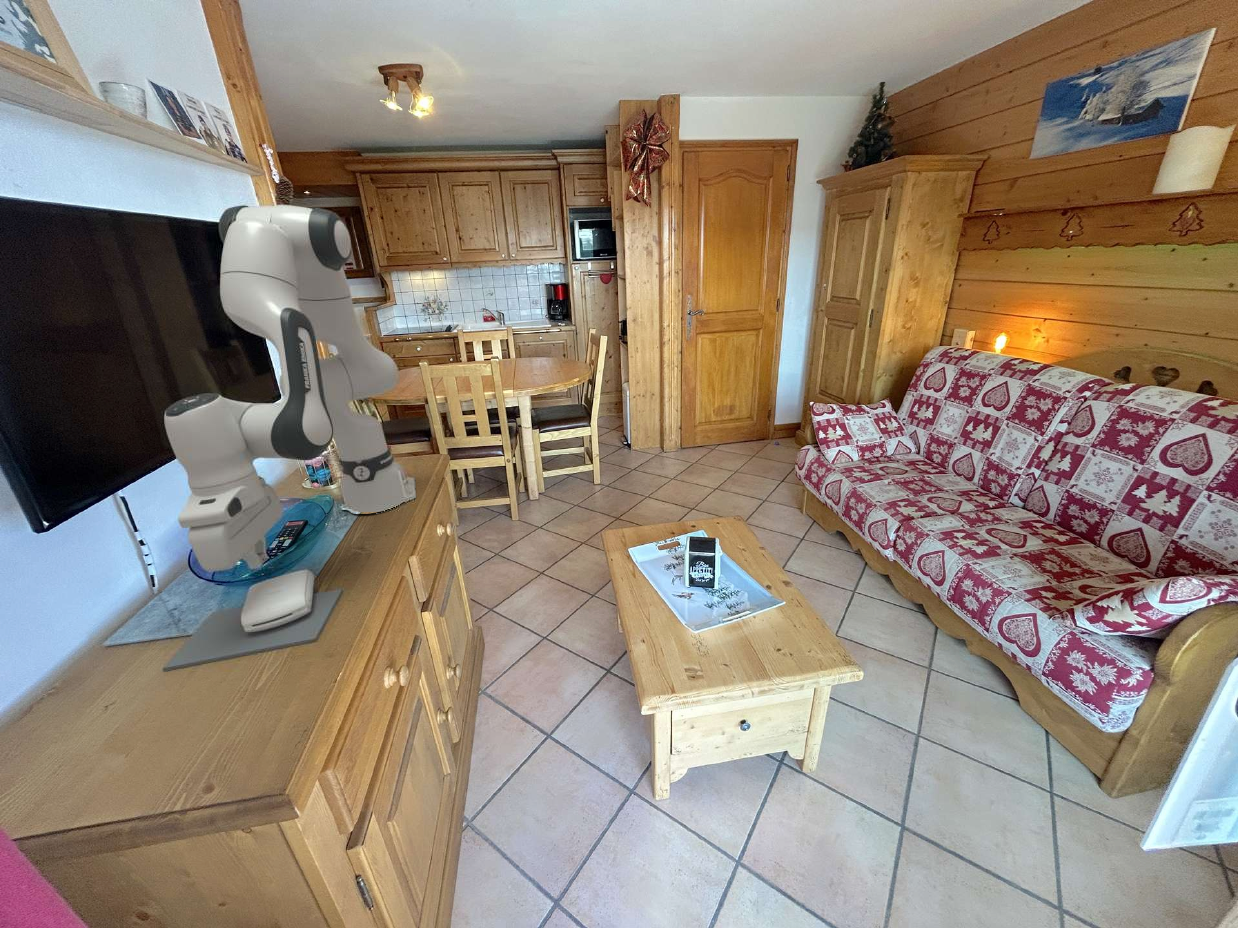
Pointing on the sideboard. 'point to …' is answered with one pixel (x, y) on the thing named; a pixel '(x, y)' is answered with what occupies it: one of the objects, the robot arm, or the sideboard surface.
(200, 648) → the mat
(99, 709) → the sideboard surface
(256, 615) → the photo printer
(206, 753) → the sideboard surface
